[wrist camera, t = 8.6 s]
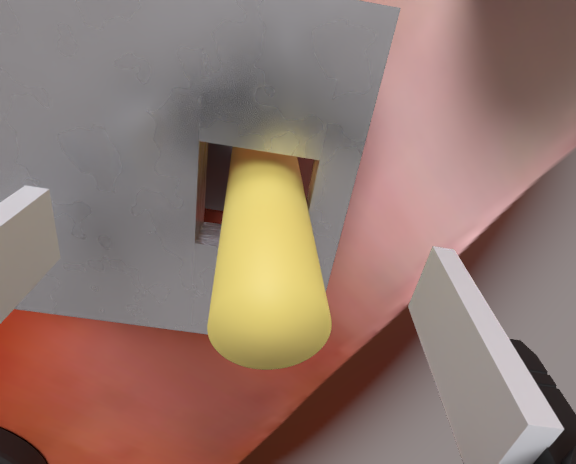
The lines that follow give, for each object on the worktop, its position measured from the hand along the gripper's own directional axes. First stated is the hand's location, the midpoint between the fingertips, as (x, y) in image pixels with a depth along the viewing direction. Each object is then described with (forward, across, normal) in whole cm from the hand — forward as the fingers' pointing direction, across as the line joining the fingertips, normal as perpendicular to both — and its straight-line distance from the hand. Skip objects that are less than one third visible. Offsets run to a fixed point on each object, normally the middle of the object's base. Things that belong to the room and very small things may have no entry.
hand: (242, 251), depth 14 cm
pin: (+11, 0, 0) cm, 11 cm away
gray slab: (+12, +6, 0) cm, 13 cm away
